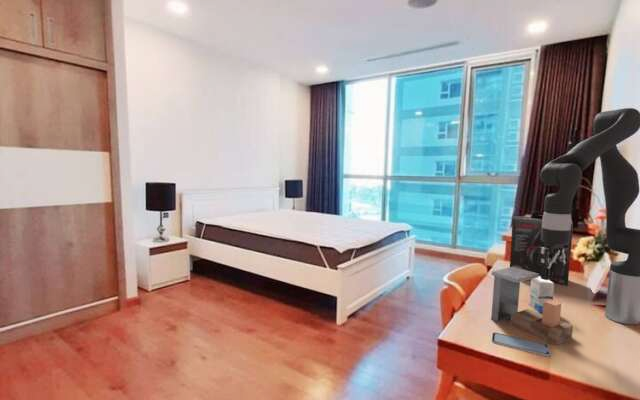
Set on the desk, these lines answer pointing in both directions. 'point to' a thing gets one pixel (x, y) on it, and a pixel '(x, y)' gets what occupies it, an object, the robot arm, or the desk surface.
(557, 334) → the socket block
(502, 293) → the panel
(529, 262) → the headset box
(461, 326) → the desk surface
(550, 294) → the ink box
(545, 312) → the peg
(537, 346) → the smartphone
